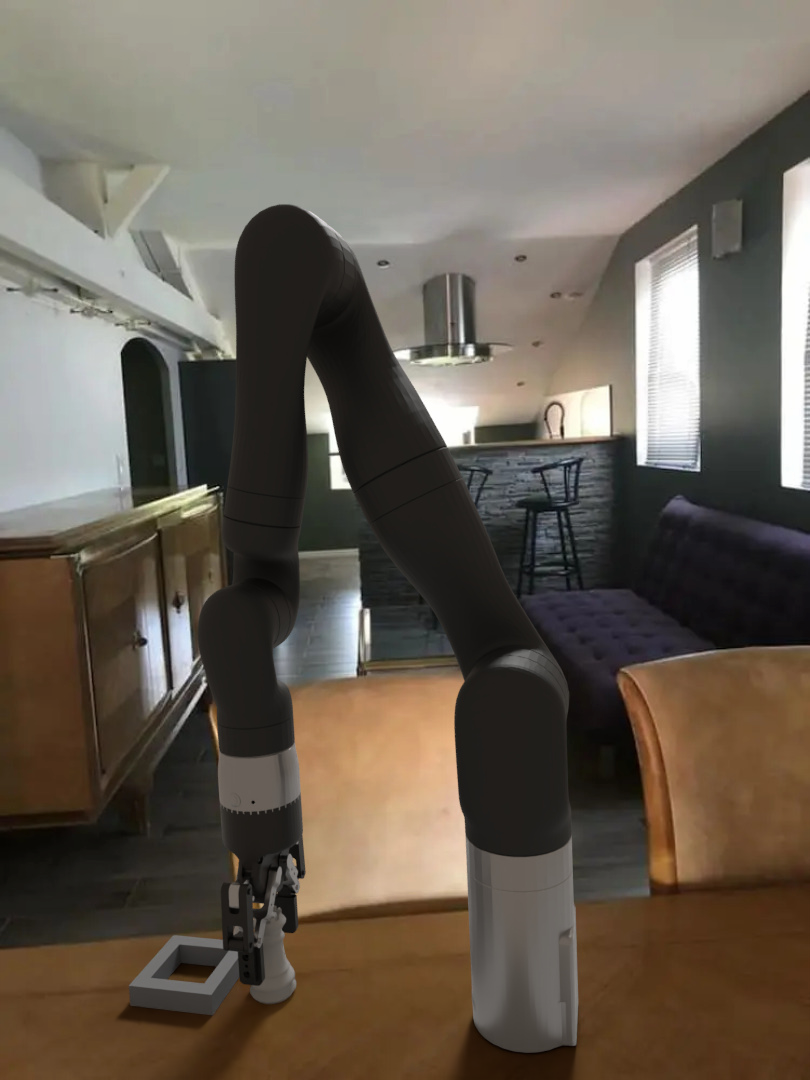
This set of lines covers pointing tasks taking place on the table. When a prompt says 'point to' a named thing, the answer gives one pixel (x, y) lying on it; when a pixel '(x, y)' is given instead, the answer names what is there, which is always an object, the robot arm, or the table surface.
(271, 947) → the rook chess piece
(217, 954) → the socket plinth
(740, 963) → the table surface
